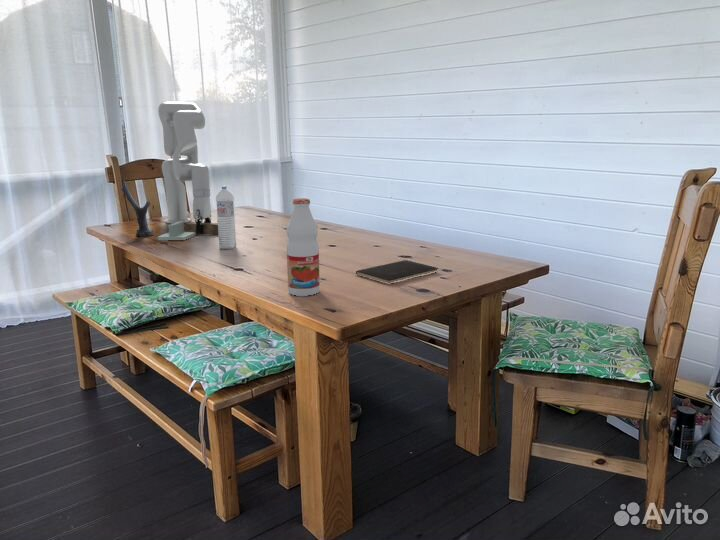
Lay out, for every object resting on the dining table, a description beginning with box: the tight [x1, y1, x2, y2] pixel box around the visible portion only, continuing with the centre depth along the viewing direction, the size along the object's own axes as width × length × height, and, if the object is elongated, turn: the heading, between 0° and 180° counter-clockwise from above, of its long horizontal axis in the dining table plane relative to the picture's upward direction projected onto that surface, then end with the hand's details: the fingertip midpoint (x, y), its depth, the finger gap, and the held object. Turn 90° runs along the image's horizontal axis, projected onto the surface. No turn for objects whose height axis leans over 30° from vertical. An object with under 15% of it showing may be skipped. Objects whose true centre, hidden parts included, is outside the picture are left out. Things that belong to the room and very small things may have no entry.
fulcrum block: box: [157, 221, 197, 241], centre depth 255 cm, size 12×12×6 cm
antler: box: [120, 180, 154, 238], centre depth 257 cm, size 12×8×25 cm
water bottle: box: [215, 185, 237, 250], centre depth 232 cm, size 7×7×25 cm
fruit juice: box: [286, 198, 321, 297], centre depth 170 cm, size 9×9×28 cm
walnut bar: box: [184, 221, 218, 236], centre depth 265 cm, size 16×4×5 cm, turn 80°
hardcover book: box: [355, 259, 439, 283], centre depth 194 cm, size 16×23×2 cm
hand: (204, 231), depth 265 cm, fingers open, 8 cm apart
